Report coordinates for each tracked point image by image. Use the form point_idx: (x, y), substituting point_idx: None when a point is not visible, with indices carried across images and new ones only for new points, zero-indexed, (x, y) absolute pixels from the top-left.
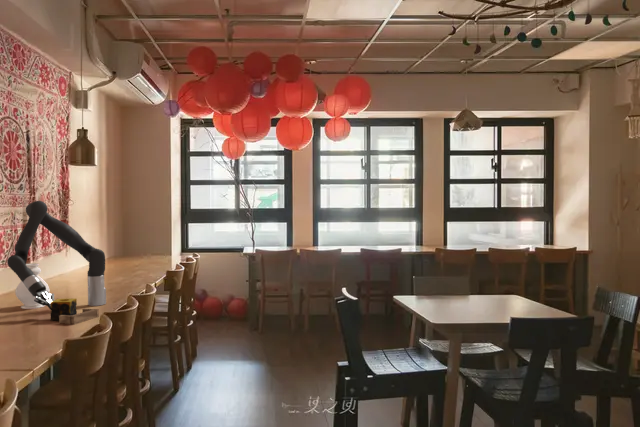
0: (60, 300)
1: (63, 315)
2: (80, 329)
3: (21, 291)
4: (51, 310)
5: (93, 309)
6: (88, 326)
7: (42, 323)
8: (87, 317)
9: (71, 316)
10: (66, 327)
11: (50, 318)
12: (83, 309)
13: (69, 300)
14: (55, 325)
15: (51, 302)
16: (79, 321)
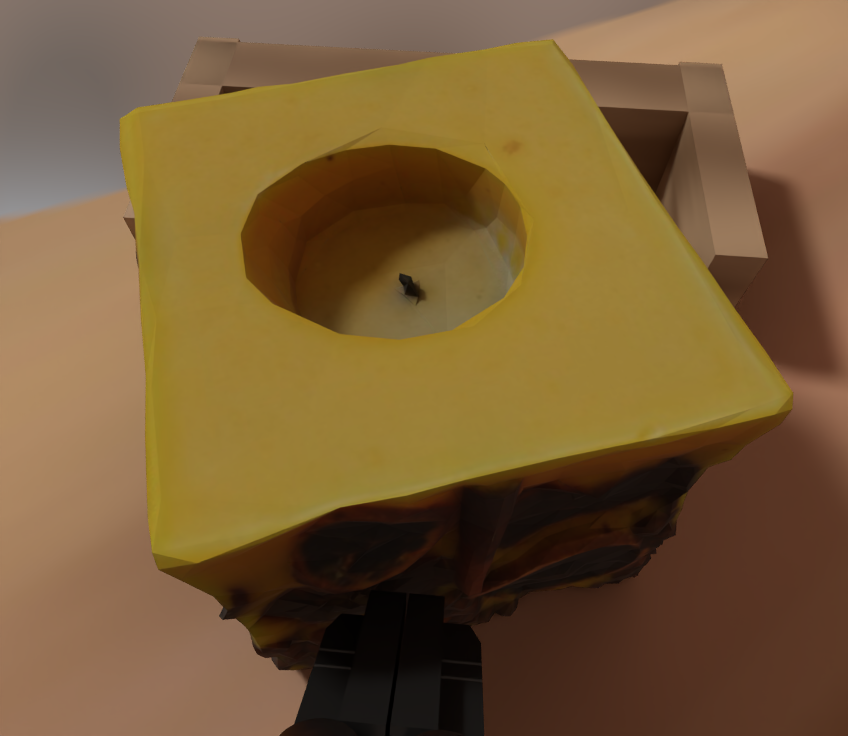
0: (386, 346)
1: (729, 208)
2: (836, 17)
3: None
4: (679, 492)
5: (221, 76)
6: (703, 15)
7: (825, 603)
8: None
9: (727, 96)
10: (841, 152)
11: (645, 562)
12: None
13: (420, 109)
14: (828, 317)
15: (773, 386)
16: None
